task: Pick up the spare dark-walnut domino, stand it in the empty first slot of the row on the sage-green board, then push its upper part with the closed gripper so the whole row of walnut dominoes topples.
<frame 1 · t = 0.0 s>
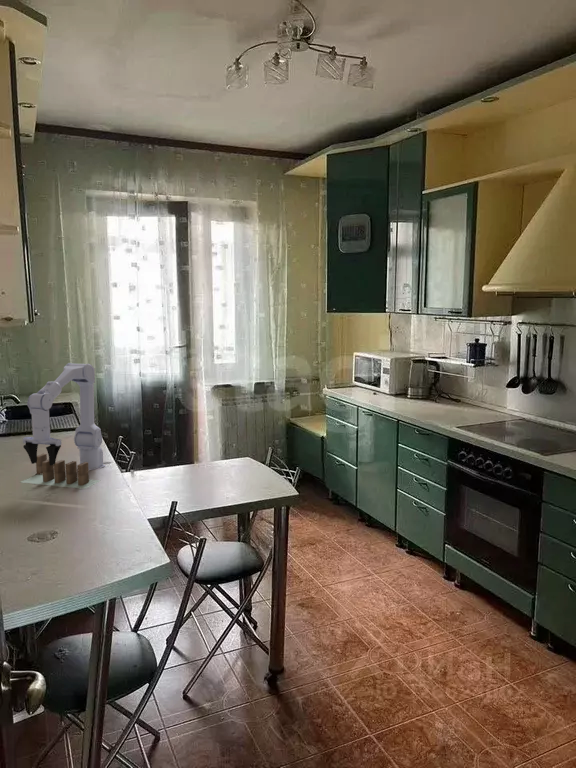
hand: (43, 463, 209), 10 cm above the counter, fingers open, 7 cm apart
domino end: (83, 483, 216), point 1 cm above the counter, touching board
domino a: (48, 480, 220), point 1 cm above the counter, touching board
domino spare: (42, 473, 230), on the counter
board: (60, 482, 219), on the counter
domino c: (71, 482, 217), point 1 cm above the counter, touching board
domino b: (60, 481, 219), point 1 cm above the counter, touching board
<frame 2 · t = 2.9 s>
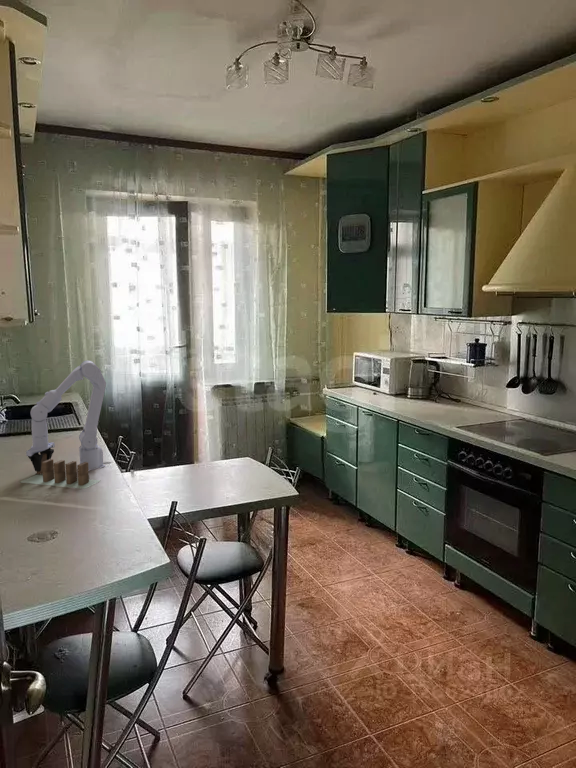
hand: (41, 469, 229), 2 cm above the counter, fingers closed on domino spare, 4 cm apart
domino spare: (42, 473, 230), on the counter, touching gripper
everything else where it was.
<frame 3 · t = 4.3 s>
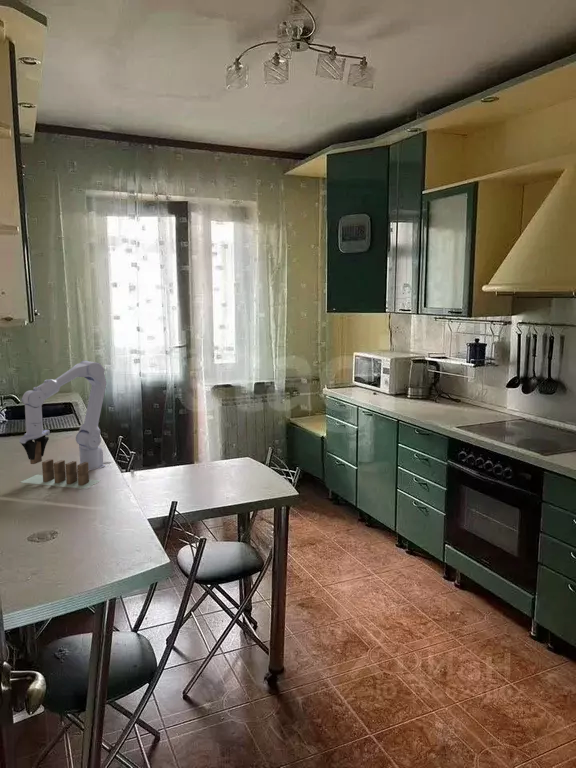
hand: (36, 457, 220), 9 cm above the counter, fingers closed on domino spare, 4 cm apart
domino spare: (36, 462, 220), point 7 cm above the counter, touching gripper
everything else where it was.
when the fingers open (3 cm above the counter, at t = 5.9 s): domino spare stays where it is, resting on board.
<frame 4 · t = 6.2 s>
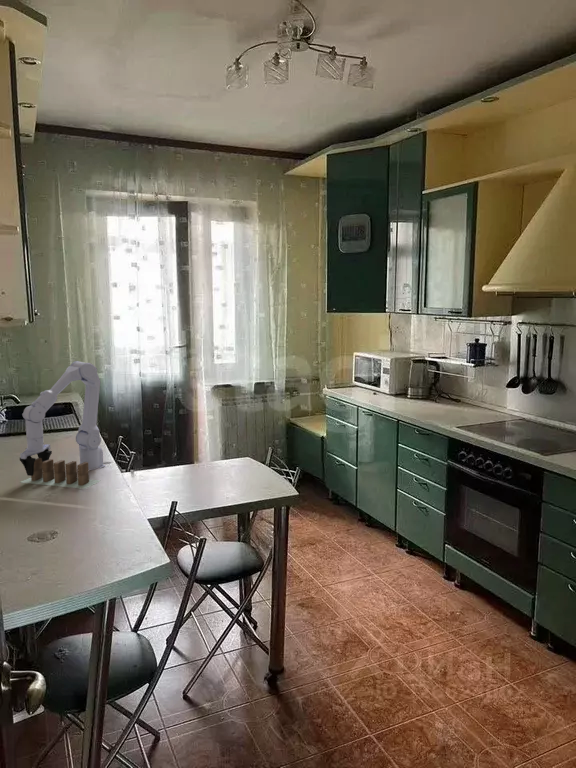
hand: (37, 472, 221), 3 cm above the counter, fingers open, 7 cm apart
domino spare: (37, 479, 221), point 1 cm above the counter, touching board
everything else where it was.
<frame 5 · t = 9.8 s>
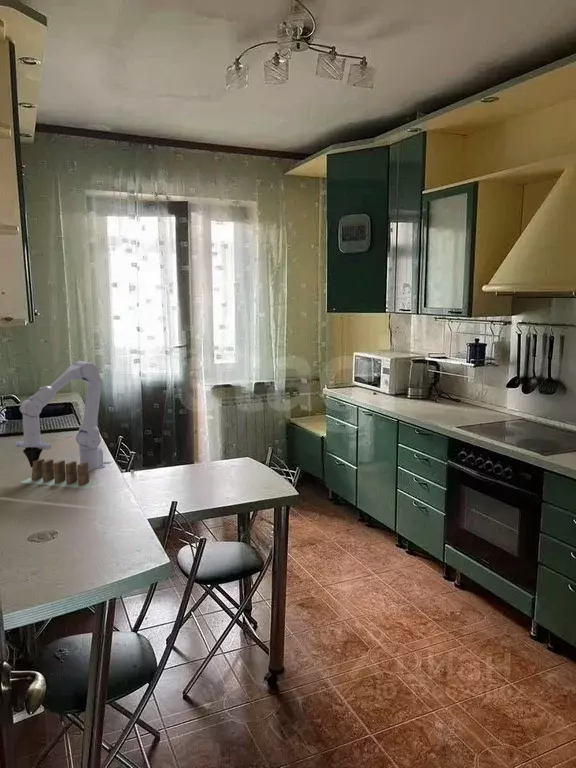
hand: (34, 466, 221), 5 cm above the counter, fingers closed
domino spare: (37, 478, 221), point 1 cm above the counter, tilted 9°, touching board, gripper
everything else where it was.
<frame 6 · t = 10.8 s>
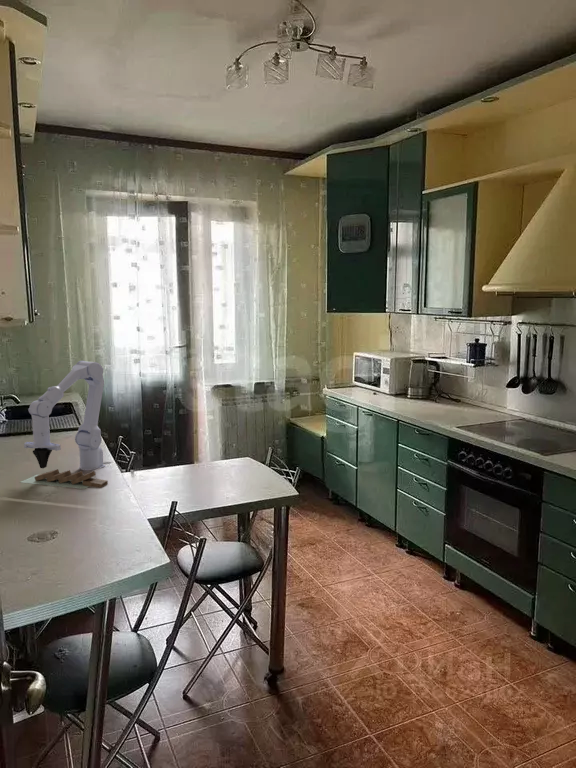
hand: (43, 467, 220), 5 cm above the counter, fingers closed
domino end: (86, 481, 216), point 2 cm above the counter, tilted 95°, touching board, domino c
domino a: (50, 478, 219), point 1 cm above the counter, tilted 72°, touching board, domino b, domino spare
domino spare: (38, 477, 221), point 1 cm above the counter, tilted 72°, touching board, domino a
domino c: (75, 480, 217), point 1 cm above the counter, tilted 67°, touching board, domino b, domino end
domino b: (62, 479, 218), point 1 cm above the counter, tilted 71°, touching board, domino a, domino c
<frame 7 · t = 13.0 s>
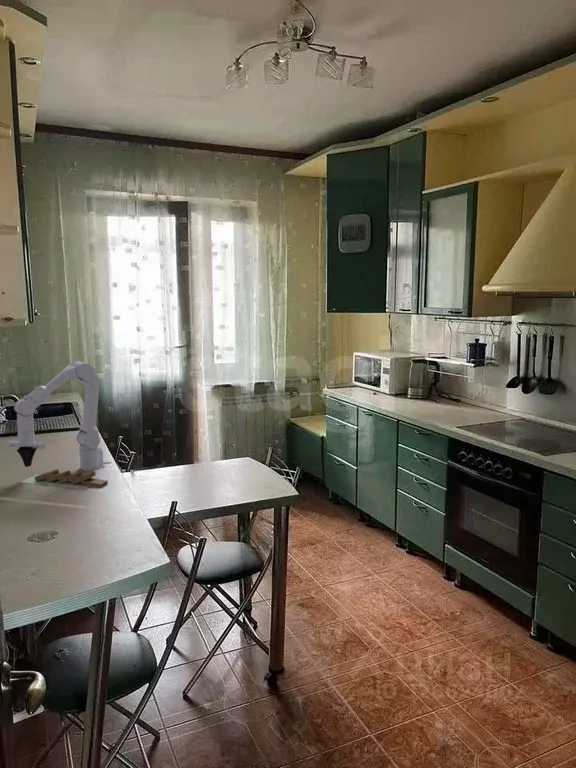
hand: (28, 466, 221), 5 cm above the counter, fingers closed
nothing on the counter moved.
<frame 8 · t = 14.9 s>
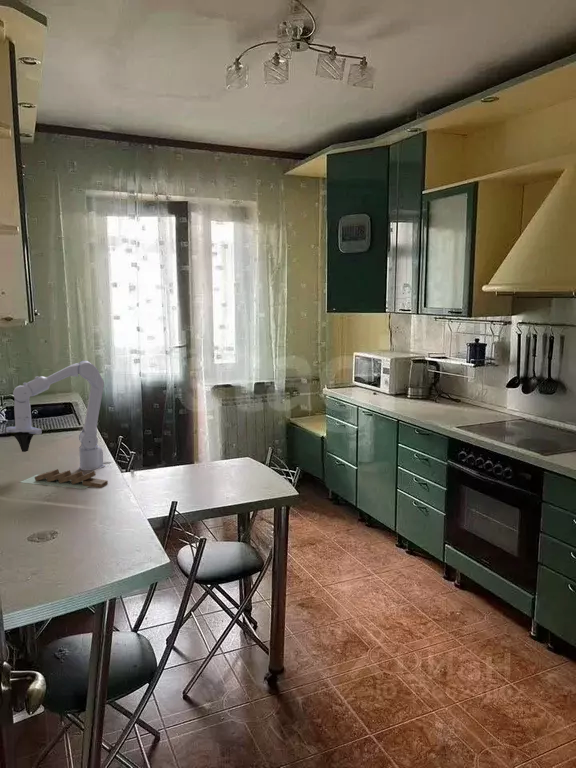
hand: (25, 451, 225), 10 cm above the counter, fingers closed
nothing on the counter moved.
at the end: domino end tilted 95°; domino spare tilted 72°; the gripper is holding nothing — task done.
